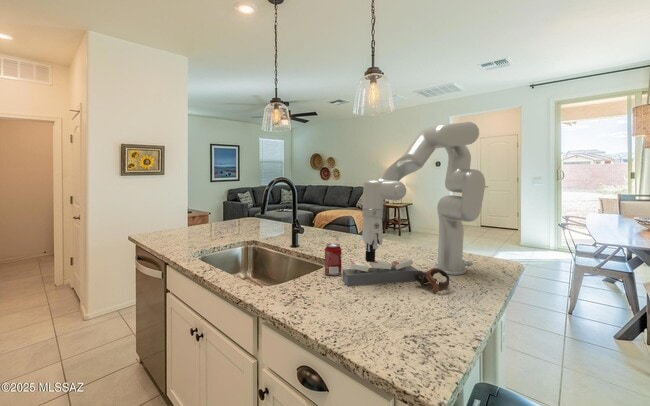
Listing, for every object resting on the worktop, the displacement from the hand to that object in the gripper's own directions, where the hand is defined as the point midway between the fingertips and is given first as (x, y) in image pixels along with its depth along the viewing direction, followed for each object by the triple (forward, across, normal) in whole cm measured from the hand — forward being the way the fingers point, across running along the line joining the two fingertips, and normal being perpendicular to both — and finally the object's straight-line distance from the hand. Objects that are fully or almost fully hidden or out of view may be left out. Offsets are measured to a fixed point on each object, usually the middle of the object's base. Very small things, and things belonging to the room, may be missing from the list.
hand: (370, 261), depth 114 cm
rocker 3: (+1, 0, -13) cm, 13 cm away
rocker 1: (+2, 0, +5) cm, 5 cm away
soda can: (+8, +11, +12) cm, 18 cm away
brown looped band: (+7, -11, -19) cm, 23 cm away
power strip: (+7, 0, -8) cm, 11 cm away
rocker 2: (+2, 0, -4) cm, 5 cm away
